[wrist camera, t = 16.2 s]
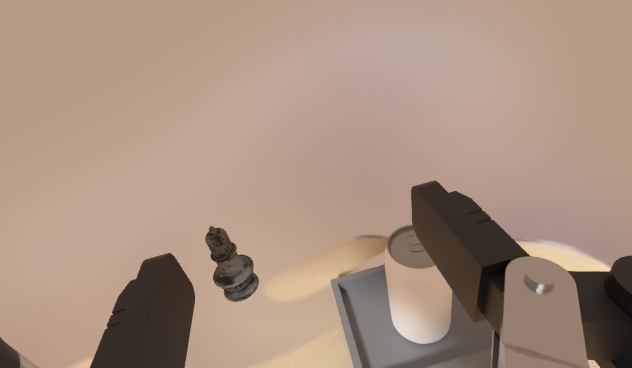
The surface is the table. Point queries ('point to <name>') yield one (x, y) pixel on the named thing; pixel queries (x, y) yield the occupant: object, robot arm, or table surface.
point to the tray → (388, 344)
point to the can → (416, 289)
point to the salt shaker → (231, 267)
